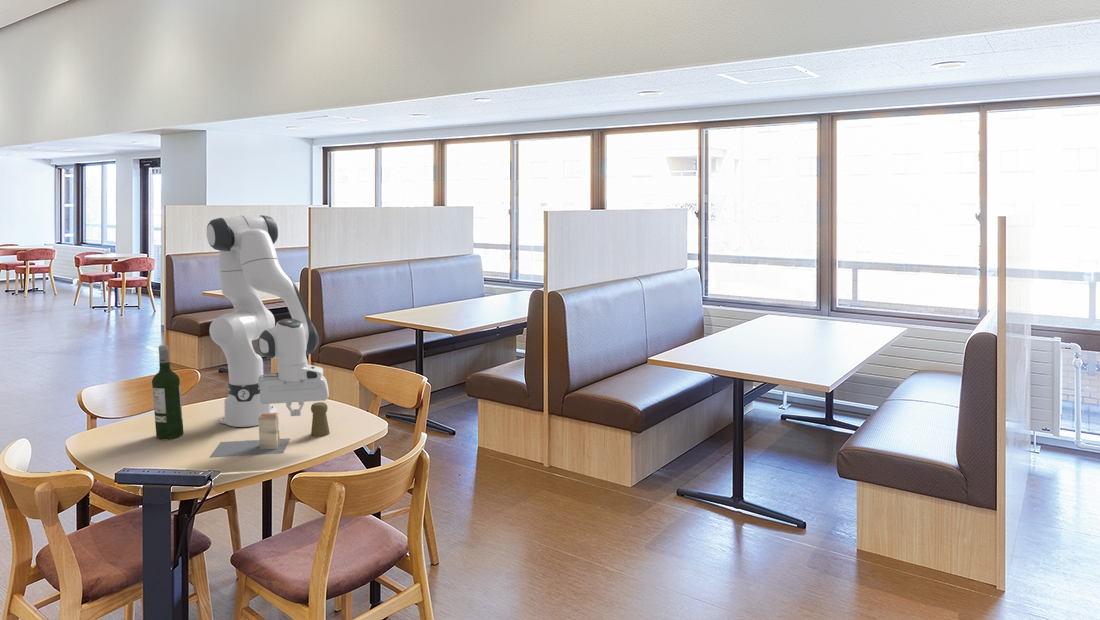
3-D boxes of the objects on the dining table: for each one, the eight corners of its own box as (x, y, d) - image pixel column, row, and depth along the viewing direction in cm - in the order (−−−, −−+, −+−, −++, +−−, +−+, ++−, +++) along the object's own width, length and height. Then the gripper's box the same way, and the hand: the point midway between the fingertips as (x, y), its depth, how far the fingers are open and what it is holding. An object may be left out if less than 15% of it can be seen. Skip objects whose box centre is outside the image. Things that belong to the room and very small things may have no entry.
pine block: (263, 444, 232) (261, 413, 230) (279, 443, 233) (278, 412, 231) (260, 449, 227) (258, 418, 225) (277, 448, 228) (275, 417, 226)
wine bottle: (151, 437, 239) (143, 346, 235) (173, 430, 246) (166, 342, 242) (166, 441, 236) (159, 349, 231) (188, 434, 243) (182, 344, 238)
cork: (309, 439, 239) (308, 406, 237) (311, 433, 245) (310, 401, 243) (329, 437, 240) (327, 405, 238) (330, 432, 246) (329, 400, 244)
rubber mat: (220, 443, 234) (220, 442, 234) (290, 440, 238) (290, 438, 238) (209, 459, 220) (209, 457, 220) (283, 455, 224) (283, 453, 224)
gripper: (255, 376, 223) (258, 420, 225) (326, 372, 226) (328, 416, 229) (259, 371, 229) (262, 414, 231) (328, 368, 233) (330, 410, 235)
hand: (296, 415), depth 230 cm, fingers closed
